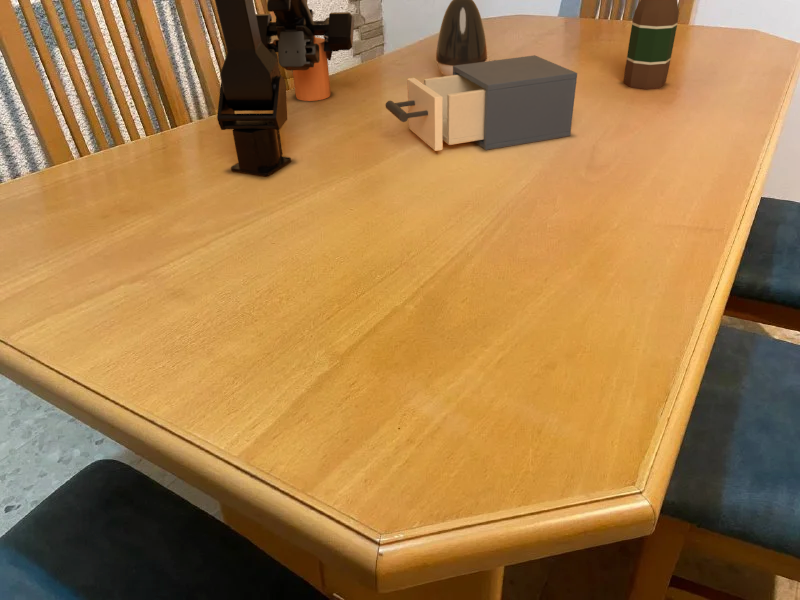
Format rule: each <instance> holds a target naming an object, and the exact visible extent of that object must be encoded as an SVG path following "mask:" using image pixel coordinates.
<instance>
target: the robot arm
mask: <svg viewBox="0 0 800 600" xmlns="http://www.w3.org/2000/svg"><path fill="white" fill-rule="evenodd" d="M214 4H215V7H216V12H217V16H218V20H219V24H220V29H221V32H222V36H223V37H222V38H223V41H224V45H225V48H226V49H225V50H226V55H225V59H224V61H223V64H222V67H221V70H220V73H219V75H220V80H221V82H220V86H219V87H220V88H219V97H218V104H217V105H218V107H217V114H216V119H217V122H218V125H219V127H220V130H221V131H226V130H232V136H233V141H234V148H235V154H236V158H237V163H235V164H233V165H231V167H230V169H231V170H230V171H232V172H237V173H242V174H249V175H255V176H260V177H269V176H270V175H272V174H274V173H276V172H277V171H278V170H280V169H281V168H283V167H285V166H286V165H287V164H289V163H291V162H292V158H291V157H289V156H283V147H282V140H281V133H280V130H281V129H282V128H283V126H284V125H285V123H286V122H287V121H288V101H287V100H288V99H287V85H286V84H287V83H286V80H285V78H284V76H283V75H282V73H281V70H280V67H282V68H283V69H285V70H286V71H293V70H308V69H309V68H310V67H314V63H319V61H320V52H319V45H318V44H314V36H315V37H316V36H317V37H319V36H321V37H323V39H325V41H324V52H326V56H327V60H328V61H331V60H332V55H333V52H339V51H350V50H351V49H352V48H353V47H354V46H353V45H354V30H355V29H354V28H355V20H354V16H353V14H352V13H351V12H350V11H343V12H342V11H341V12H340V11H339V12H337V11H336V12H330V13H328V17H326V18H325V19H324V20H314V11H313V9H312V8H311V9H310V7H309V5H308V0H267V1H266V9H267V12H269V13H256V8H255V3H254V0H214ZM271 12H272V13H273V14H274V16H275V21H273V16H272V13H271ZM259 111H260V112H262V113H236V112H259ZM263 112H265V113H263ZM266 112H269V113H266ZM270 112H272V113H270Z"/></svg>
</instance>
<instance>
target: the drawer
mask: <svg viewBox="0 0 800 600" xmlns="http://www.w3.org/2000/svg"><path fill="white" fill-rule="evenodd" d="M406 80H407V81H406V82H407V100H406V101H400V102H394V101H393V100H388V101H386V103H385V109H386V110H388V112H390V113H391V114H392V115H393V116H394V117H395V118H396V119H397V120H399V121H400V122H401V123H405V122H407V121H408V129H410V131H411V132H413V134H415V135H416V136H417V137H418V138H420V139H421V140H422V141H423V142H424V143H425V144H426V145H428V147H430V148H431V149H432V150H433V151H434V152H437V151H443V142H444V143H446V144H447V145H449V146H452V145H457V144H458V145H459V144H464V143H470V142H474V141H477V140H483V139H484V118H485V92H486V89H484V88H482V87H481V86H479V85H477V84H475V83H474V82H472V81H470V80H468V79H467V78H465V77H463V76H461V75H460V74H458V75H451V76H444V75H443V76H437V77H429V78H424V79H423V82H421V81H420V80H419V79H417V78H415V77H410V78H407V79H406ZM404 107H407V112H406V111H405V110H404V109H403V108H404Z"/></svg>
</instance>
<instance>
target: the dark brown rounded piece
mask: <svg viewBox="0 0 800 600" xmlns="http://www.w3.org/2000/svg"><path fill="white" fill-rule="evenodd" d="M487 47H488V46H487V39H486V33H485V28H484V25H483V19H482V17H481V13H480V11H479V8H478V6H477V4H476V2H475V1H474V0H451V1H450V3H449V4H448V6H447V8H446V10H445V12H444V15H443V17H442V20H441V25H440V28H439V33H438V38H437V44H436V50H435V51H436V52H435V61H436V62H437V65H438V69H439V71H440V72H441V74H442V75H443V76H451V75H453V66H455V65H463V64H471V63H479V62H486V61H487V59H488V48H487Z"/></svg>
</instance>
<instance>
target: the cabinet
mask: <svg viewBox="0 0 800 600" xmlns="http://www.w3.org/2000/svg"><path fill="white" fill-rule="evenodd" d="M458 74H460V75H461V76H463V77H465V78H467V79H468V80H470V81H472V82H474V83H475V84H477V85H479V86H481V87H482V88H484V89H486V92H485V118H484V139H483V140H477V141H473V142H474V143H475V144H476V145H478V146H479V147H481V148H482V149H483V150H484V151H488V150H489V151H490V150H494V149H502V148H507V147H513V146H518V145H525V144H530V143H536V142H543V141H549V140H554V139H560V138H561V139H562V138H566V137H571V131H572V123H573V114H574V107H575V98H576V90H577V89H576V88H577V79H578V72H576V71H573V70H571V69H569V68H566V67H564V66H561V65H559V64H557V63H555V62H553V61H550V60H547V59H544V58H542V57H540V56H539V55H538V56H537V55H535V54H534V55H527V56H519V57H511V58H504V59H503V58H502V59H497V60H496V59H495V60H488V61H487V60H486V61H485V62H479V63H471V64H463V65H455V66H453V75H458Z"/></svg>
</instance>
